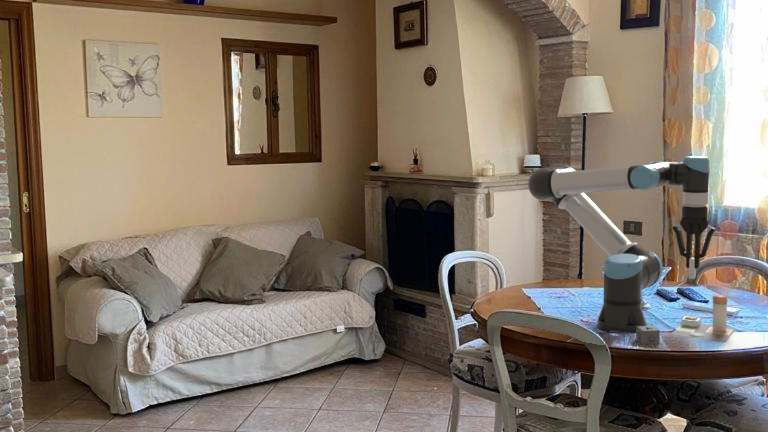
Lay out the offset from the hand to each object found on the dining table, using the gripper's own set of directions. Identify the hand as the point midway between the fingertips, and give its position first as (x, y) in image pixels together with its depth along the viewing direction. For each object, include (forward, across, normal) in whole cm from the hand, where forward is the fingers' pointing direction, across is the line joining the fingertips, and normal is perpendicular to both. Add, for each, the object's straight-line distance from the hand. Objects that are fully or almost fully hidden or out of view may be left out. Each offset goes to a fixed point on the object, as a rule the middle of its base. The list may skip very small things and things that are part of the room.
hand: (692, 278), depth 243 cm
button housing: (+16, 0, 0) cm, 16 cm away
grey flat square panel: (+16, -5, +5) cm, 18 cm away
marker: (+16, -9, +2) cm, 18 cm away
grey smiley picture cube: (+17, +7, +24) cm, 30 cm away
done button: (+14, 0, 0) cm, 14 cm away
